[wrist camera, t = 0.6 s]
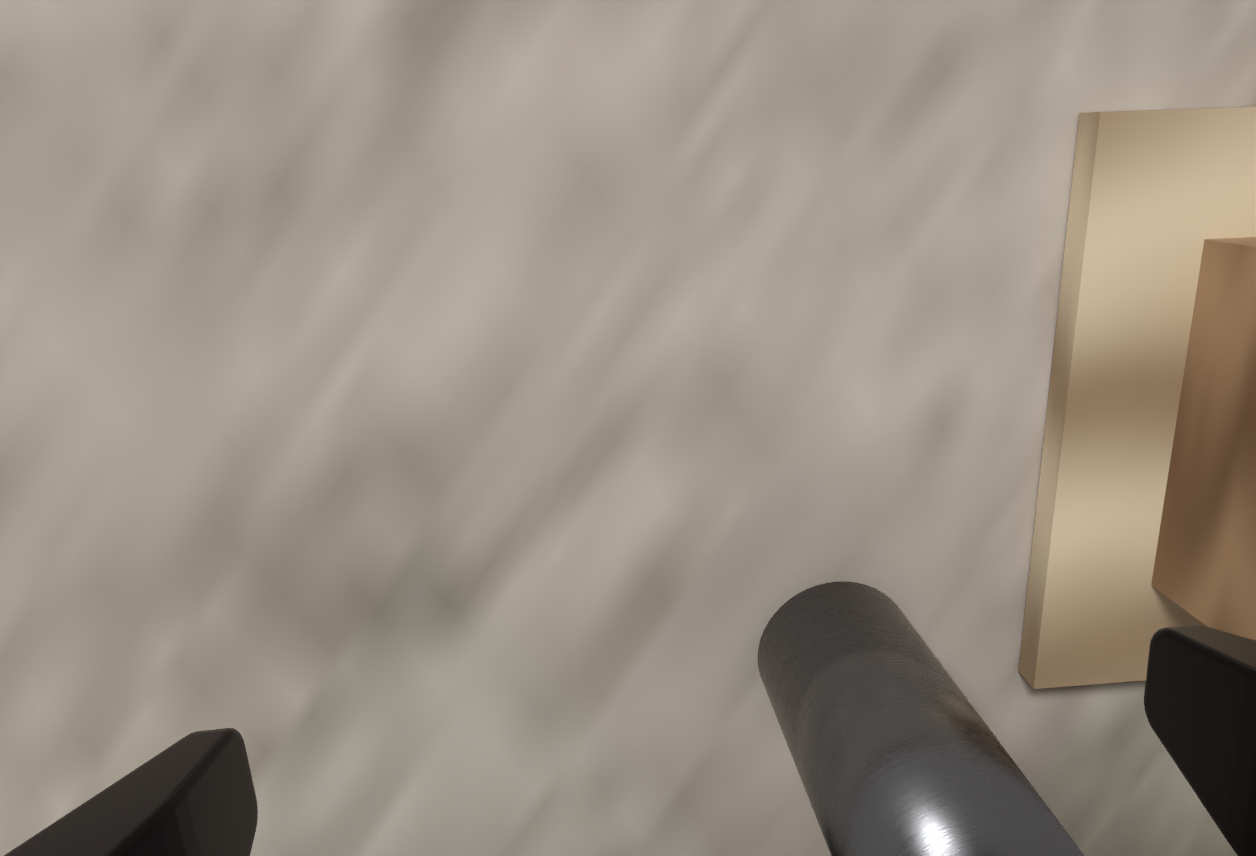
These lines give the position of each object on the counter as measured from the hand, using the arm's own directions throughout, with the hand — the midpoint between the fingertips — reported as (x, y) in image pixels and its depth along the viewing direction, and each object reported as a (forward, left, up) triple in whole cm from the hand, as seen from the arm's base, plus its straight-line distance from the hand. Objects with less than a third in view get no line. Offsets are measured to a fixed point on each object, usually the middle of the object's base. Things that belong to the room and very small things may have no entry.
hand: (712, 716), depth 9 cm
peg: (-7, -5, -13) cm, 16 cm away
